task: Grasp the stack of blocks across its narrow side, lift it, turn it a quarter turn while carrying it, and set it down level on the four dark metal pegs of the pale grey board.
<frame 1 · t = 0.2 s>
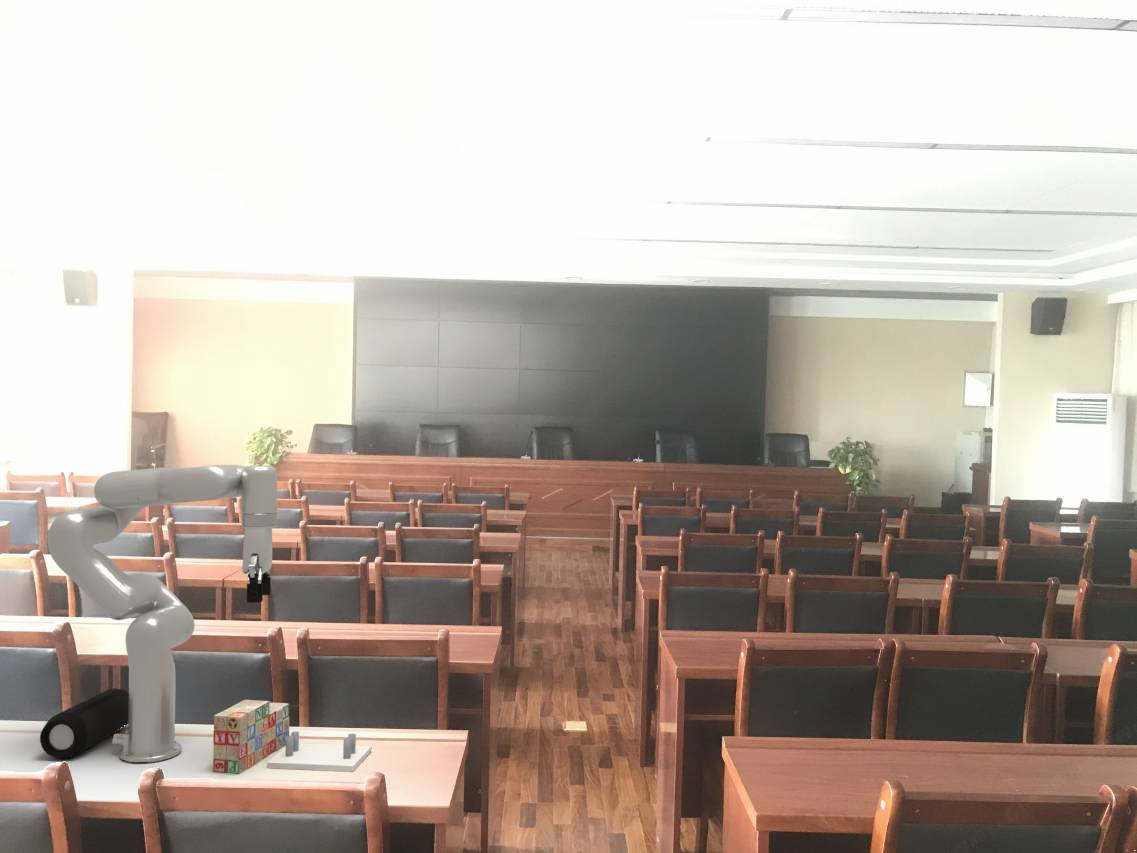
hand: (258, 598, 204), 35 cm above the table, tool pointing down, fingers open, 9 cm apart
stack of blocks: (252, 758, 205), on the table
portable speaker: (90, 744, 213), on the table
peg board: (320, 759, 203), on the table
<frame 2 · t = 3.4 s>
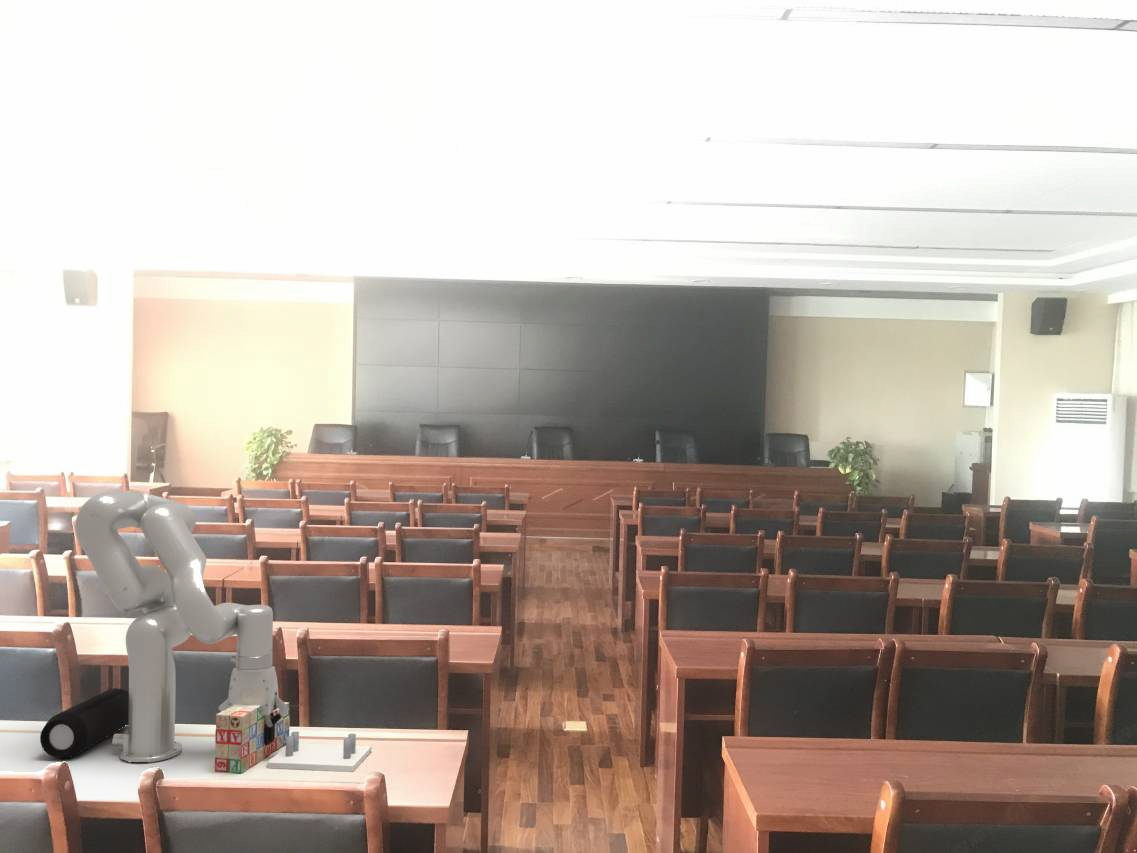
hand: (253, 742, 205), 3 cm above the table, tool pointing down, fingers closed on stack of blocks, 6 cm apart
stack of blocks: (253, 757, 205), on the table, touching gripper
everything else where it was.
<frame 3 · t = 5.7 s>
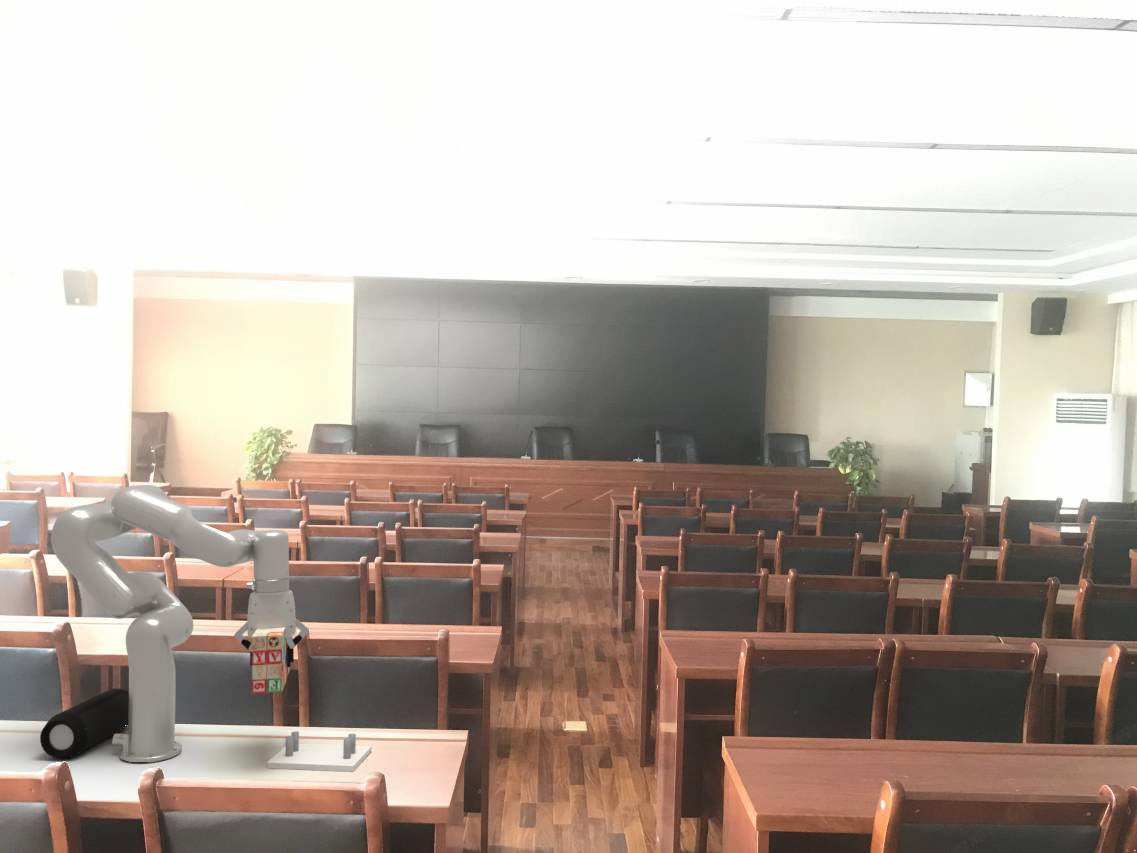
hand: (272, 666, 205), 20 cm above the table, tool pointing down, fingers closed on stack of blocks, 6 cm apart
stack of blocks: (272, 681, 205), point 17 cm above the table, touching gripper
everything else where it was.
when the fingers open (9 cm above the table, at t = 8.3 s): stack of blocks stays where it is, resting on peg board.
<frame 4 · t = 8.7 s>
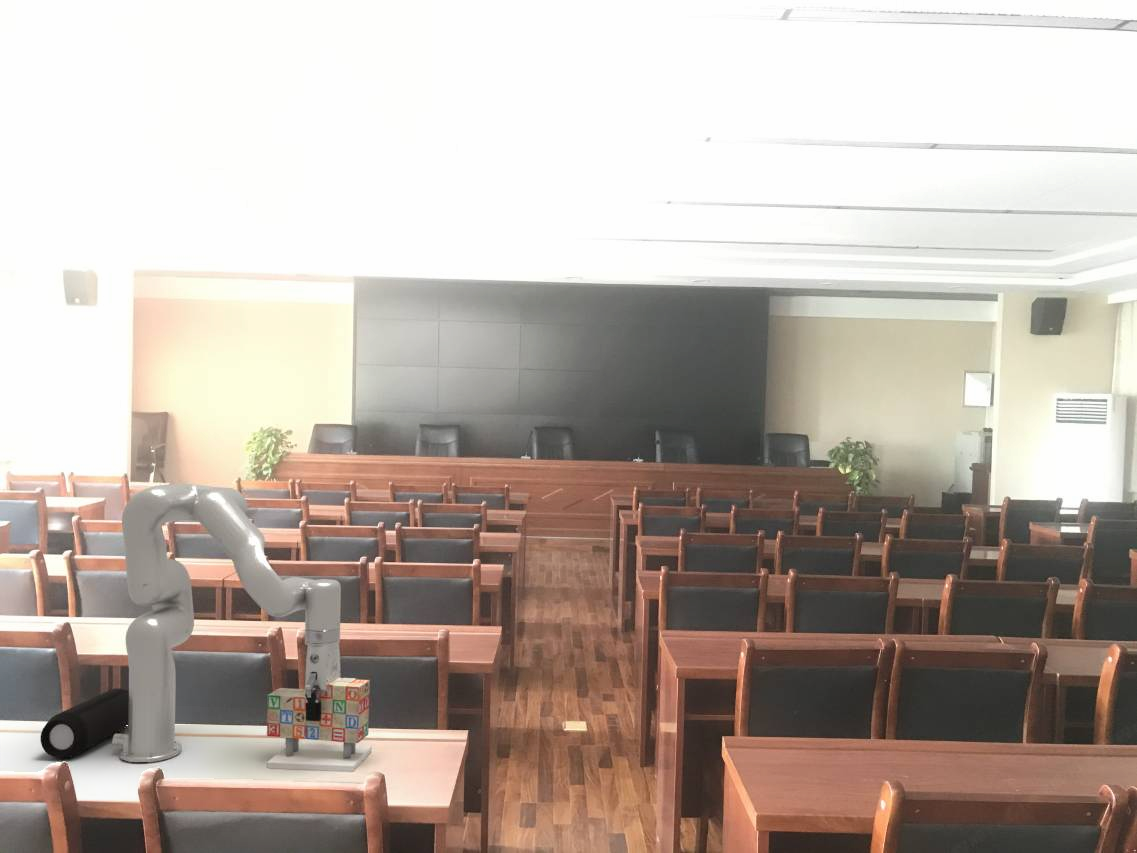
hand: (321, 714, 203), 10 cm above the table, tool pointing down, fingers open, 9 cm apart
stack of blocks: (318, 736, 203), point 5 cm above the table, touching peg board
everything else where it was.
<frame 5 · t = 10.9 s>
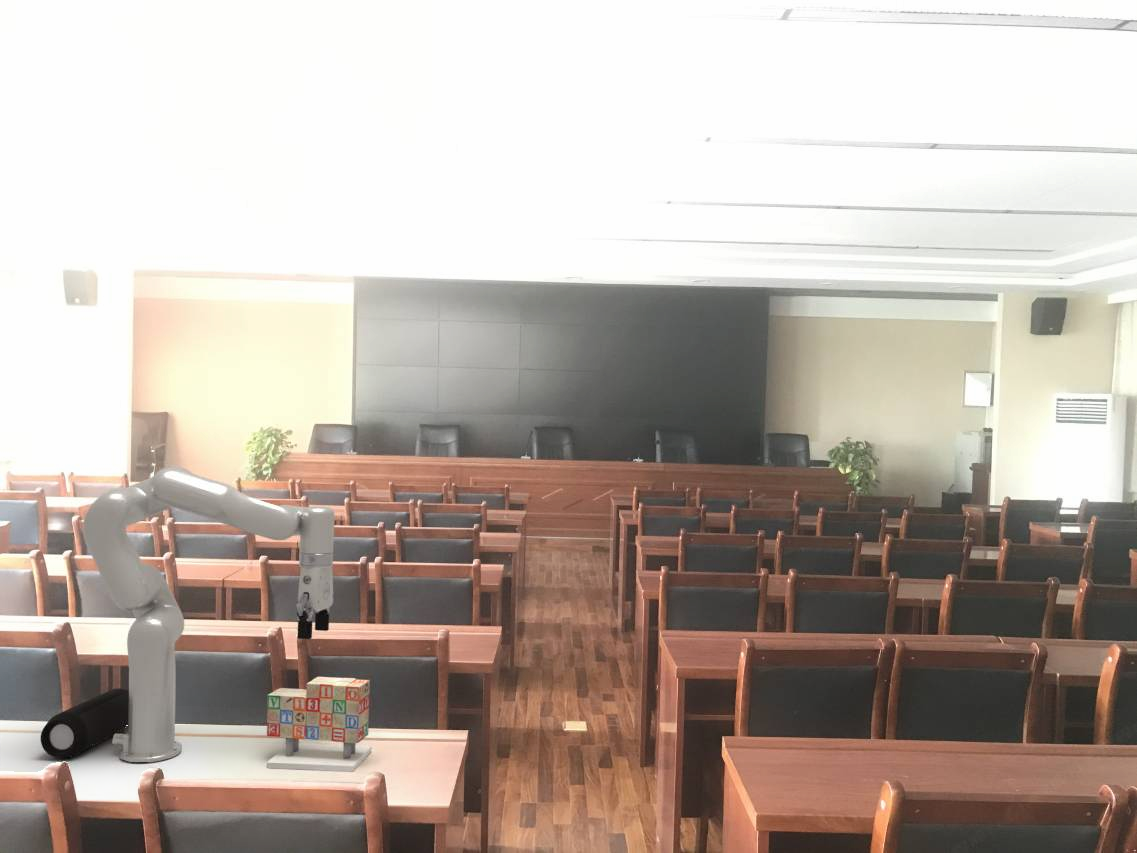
hand: (313, 634, 213), 26 cm above the table, tool pointing down, fingers open, 9 cm apart
nothing on the table moved.
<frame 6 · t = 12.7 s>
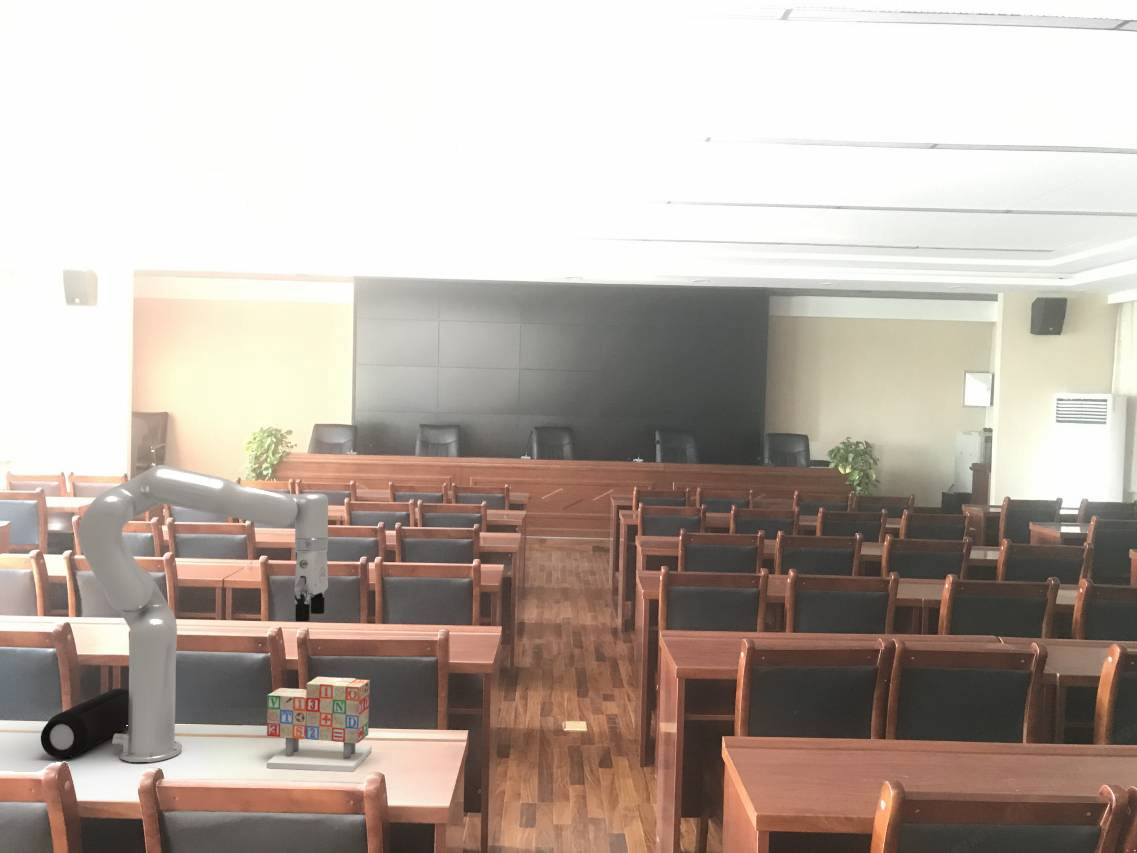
hand: (310, 617, 219), 28 cm above the table, tool pointing down, fingers open, 9 cm apart
nothing on the table moved.
at the end: stack of blocks 0.6 cm off-centre on the peg board, point 5.0 cm above the peg board's base; stack of blocks tilted 0°; the gripper is holding nothing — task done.
